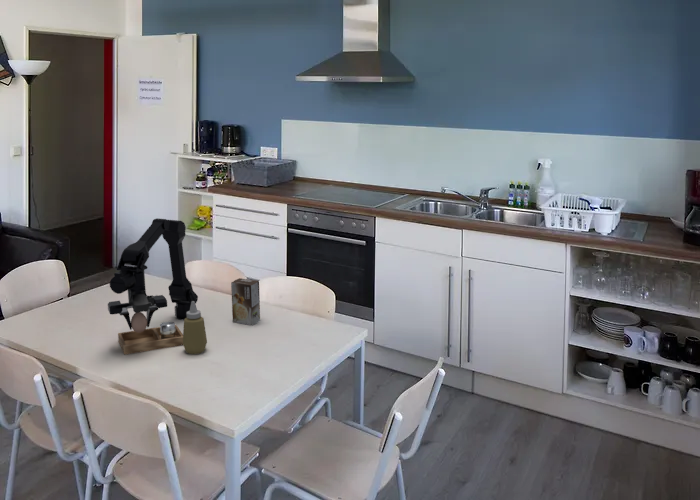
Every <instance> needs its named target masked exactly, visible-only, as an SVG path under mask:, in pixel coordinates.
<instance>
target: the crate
mask: <svg viewBox="0 0 700 500" xmlns="http://www.w3.org/2000/svg"><path fill="white" fill-rule="evenodd" d="M175 331H176V337H175V338H168V339H162V340H161V334H160V326H156V327H151V328H149V327H148V328H146V329H145V330H144V331H143V332H141V333H137V332H135V331H134V330H130V331H124V332H118V333H117V337H118V339H117V341H118V343H119V345H120V348H121V350H122V353H123V354H124V356H125V355H132V354H137V353H144V352H149V351H155V350H161V349H169V348H173V347H180V346H184V345H183V333H182V331H181V330H180V329H179V327H178V325H177V324H175Z"/></svg>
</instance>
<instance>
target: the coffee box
mask: <svg viewBox="0 0 700 500" xmlns="http://www.w3.org/2000/svg"><path fill="white" fill-rule="evenodd" d="M230 289H231V309H232V310H231V312H232V323H236V324H243V325H248V326H254V325H256V324H257V323H259V322H260V321H261V305H260V281H259V280H255V279H247V278H242V277H241V278H240V277H239V278H237V279H235V280H233V281H231V286H230Z"/></svg>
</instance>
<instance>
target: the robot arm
mask: <svg viewBox="0 0 700 500" xmlns="http://www.w3.org/2000/svg"><path fill="white" fill-rule="evenodd" d="M186 230H187V229H186V225H185V222H183V220H178V219H177V220H174V219H166V218H154V219H153V220H152V222H151V224H150V226H148V228H147V229H146V230H145V231H144V232H143V234H142V235H141V236H140V238H139V239H138V240H137V241H136V242H133V243H131V244H129V245H128V246H126V247H125V248H124V250H123V251H122V253H121V256H120V259H119V260H118V264H117V268H116V271H115V272H114V273H113V274H114V276H113V277H111V279H110V282H109V288H110V290H111V291H112V292H113V293H114V294H116V295H117V294H119V295H120V294H122V293H124V292H126V291H127V294H128V295H127V297H128V299H127V301H128V302H124V303H121V301H120V300H115V301H109V302H108V303H107V311H108V313H109V314H110V315H119V316H123V317H124V319H125V320H126V323H127V325H128V328H129V330H130V331H133V329H132V326H131V316H130V312H129V309H133V313H134V314H135V313H139V312H141V313H143V312H145V313H146V319H147V327H146V328H149V327H150V324H151V321H152V319H153V315H154V314H155V312H156V311H159V309H162V308H167V307H168V300H167V298H166V297H165V296H164V295H163V294H160V295H147V291H146V290H147V289H146V276H145V271H146V270H147V269H148V266H147V265H146V263H147V262H148V260H149V257H150V250H151V249H152V248H153V246H155V244H156V242H157V241H158V240H159V239H160V237H161V236H162V238H163V240H164V241H165V242H166V243H167V245H168V251H169V258H170V259H169V261H170V266H171V273H172V274H171V275H172V281H171V283H170V284H169V285H168V296H169V297H170V300H171V303H173V304H175V305H174V317H175V318H176V319H177V320H184V319H185V318H186V317H187V312H188V311H190V306H191V302H192V301H195V304H197V302H198V301H199V299H198V298H199V296H198V295H197V293H196V292H195V291H194V290H193V285H192V282H191V281H190V280H189V278H187V272H186V263H185V255H184V247H183V241H184V239H185V237H186Z"/></svg>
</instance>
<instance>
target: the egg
mask: <svg viewBox="0 0 700 500" xmlns="http://www.w3.org/2000/svg"><path fill="white" fill-rule="evenodd" d="M146 318H147V316H146V315H145V314H144V313H143V312H139V313H135V312H134V314H133V315H132V317H131V318H130V321H131V326H132V331H135V332H137V333H141V332H143V331H144V330H145V329H147V328H148V327H147V319H146Z"/></svg>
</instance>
